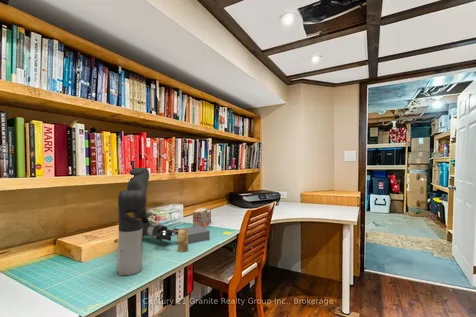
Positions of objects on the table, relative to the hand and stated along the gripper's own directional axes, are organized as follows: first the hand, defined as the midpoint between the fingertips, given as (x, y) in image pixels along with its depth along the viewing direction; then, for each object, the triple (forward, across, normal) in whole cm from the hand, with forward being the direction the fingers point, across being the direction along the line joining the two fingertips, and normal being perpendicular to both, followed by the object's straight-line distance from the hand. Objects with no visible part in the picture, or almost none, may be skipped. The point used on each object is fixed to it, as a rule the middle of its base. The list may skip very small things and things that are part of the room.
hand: (177, 236), depth 128 cm
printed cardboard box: (-19, +39, +6) cm, 44 cm away
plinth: (-5, +16, +6) cm, 18 cm away
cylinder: (+4, 0, +6) cm, 7 cm away
